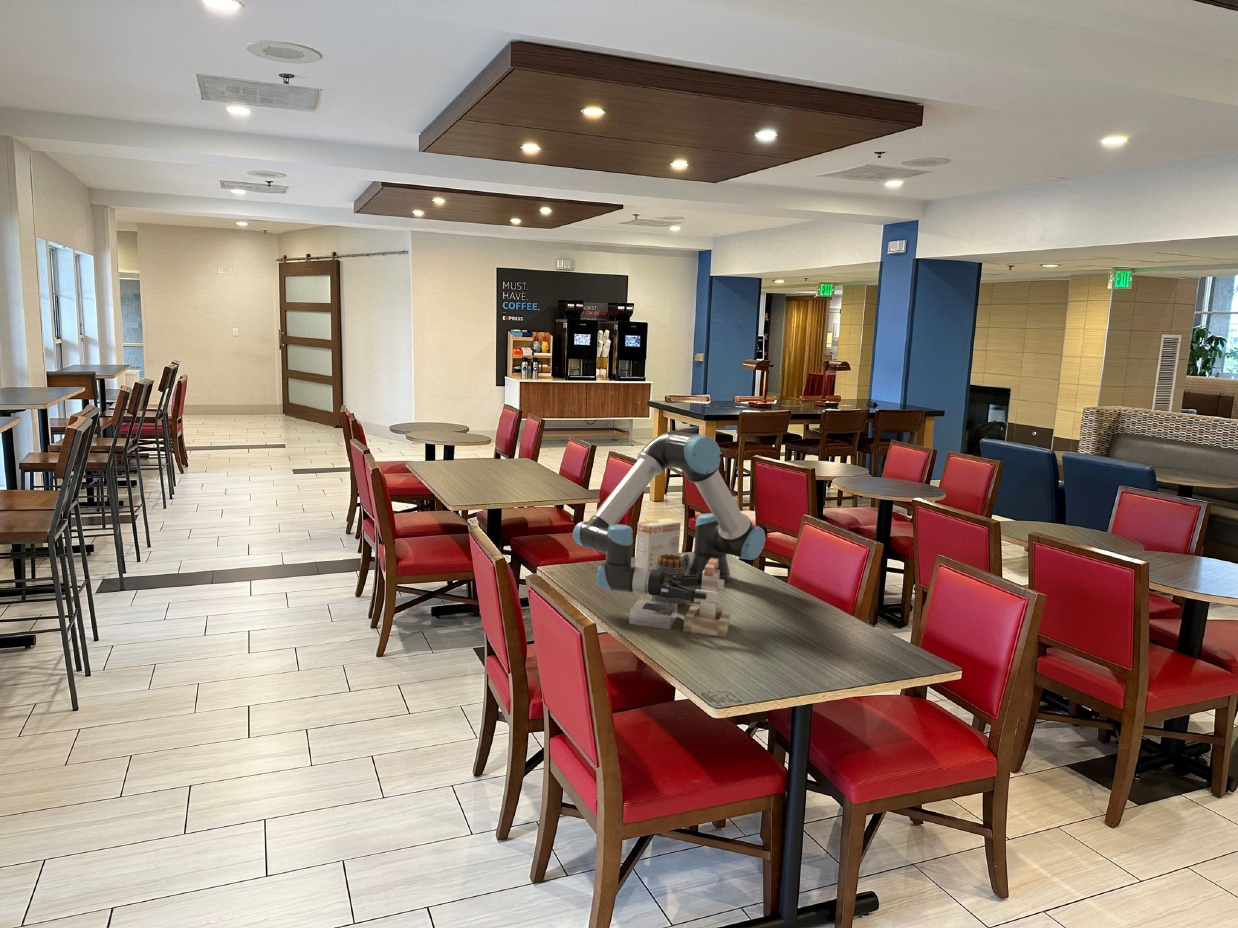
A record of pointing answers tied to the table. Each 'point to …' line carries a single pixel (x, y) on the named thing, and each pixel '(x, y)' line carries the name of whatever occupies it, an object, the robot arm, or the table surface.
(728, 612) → the block
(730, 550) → the robot arm
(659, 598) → the mug
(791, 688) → the table surface
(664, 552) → the coffeecake box
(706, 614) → the t-key
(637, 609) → the plate
